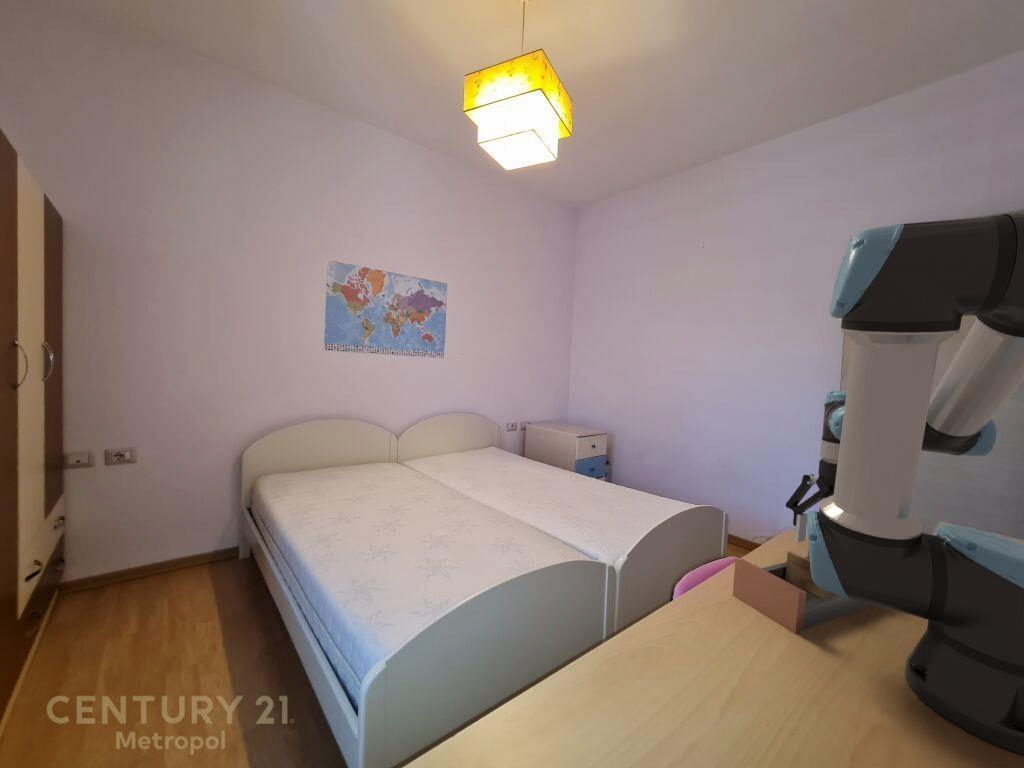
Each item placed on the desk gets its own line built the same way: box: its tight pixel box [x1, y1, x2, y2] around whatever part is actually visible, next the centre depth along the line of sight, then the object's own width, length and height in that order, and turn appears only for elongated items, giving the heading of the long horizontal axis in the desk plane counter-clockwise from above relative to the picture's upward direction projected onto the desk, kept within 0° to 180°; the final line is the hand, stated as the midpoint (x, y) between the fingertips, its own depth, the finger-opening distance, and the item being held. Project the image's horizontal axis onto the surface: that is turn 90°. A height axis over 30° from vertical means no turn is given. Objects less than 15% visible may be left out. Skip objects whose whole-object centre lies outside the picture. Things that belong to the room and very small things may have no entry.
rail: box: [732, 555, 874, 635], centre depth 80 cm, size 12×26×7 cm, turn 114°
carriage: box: [785, 551, 832, 598], centre depth 83 cm, size 9×12×6 cm
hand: (831, 554), depth 92 cm, fingers open, 13 cm apart
